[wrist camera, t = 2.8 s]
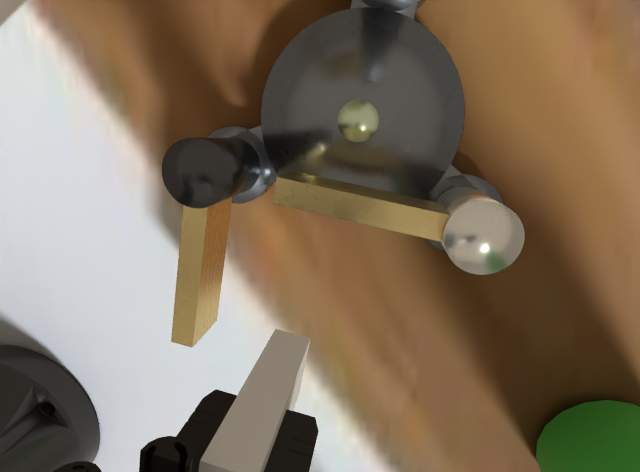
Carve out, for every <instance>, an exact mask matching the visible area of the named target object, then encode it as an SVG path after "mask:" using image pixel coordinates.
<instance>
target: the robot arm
mask: <svg viewBox="0 0 640 472" xmlns="http://www.w3.org/2000/svg"><path fill="white" fill-rule="evenodd" d="M309 343H310V338H307V337H303V336H299V335H296V334H292V333H288V332H285V331H281V330H277V329H275V331H274V333H273V334H272V336H271V338H270V340H269V341H268V343H267V345H266V347H265V348H264V350H263V352H262V354H261V355H260V357H259V359H258V361H257V362H256V364H255V366H254V368H253V369H252V371H251V373H250V375H249V376H248V378H247V380H246V381H245V383H244V385H243V387H242V388H241V390H240V392H239V394H238V395H237V396H236V395H233V394H230V393H226V392H223V391H220V390H215V391H213V392H211V393H210V394H208V395H207V396H205V397H204V398H203V399H202V401H201V402H200V403H199V405H198V406H197V408H196V409H195V412H193V413H192V415H191V416H190V418H189V419H188V422H186V424H185V425H184V426H183V428H182V429H181V431H180V432H179V434H178V435H177V436H176V437H172V436H167V437H161V438H158V439H156V440H153V441H151V442H149V443H148V444H147V445H146V446H145V447H144V448H143V449H141V453H140V468H139V472H309V469H310V465H311V460H312V456H313V452H314V447H315V443H316V439H317V435H318V428H317V424H316V420H315V417H311V416H308V415H304V414H301V413H298V412H294V411H293V409H294V406H295V403H296V400H297V397H298V394H299V390H300V386H301V381H302V376H303V372H304V367H305V362H306V357H307V353H308V348H309ZM99 444H100V431H99V424H98V420H97V417H96V414H95V411H94V409H93V407H92V405H91V403H90V401H89V399H88V397H87V396H86V394H85V393H84V391H83V390H82V389H81V387H80V386H79V385H78V384H77V382H76V381H75V380H74V379H73V378H72V377H71V376H70V375H69V374H68V373H67V372H65V371H64V370H63V369H62V368H61V367H59V366H58V365H57V364H55V363H54V362H52V361H51V360H49V359H48V358H46V357H44V356H42V355H40V354H38V353H36V352H33V351H31V350H27V349H24V348H20V347H15V346H6V345H1V346H0V472H101V470H100V469H99V467H98V466H97V465H96V464H93V461H94V459H95V457H96V455H97V453H98V449H99Z"/></svg>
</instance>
